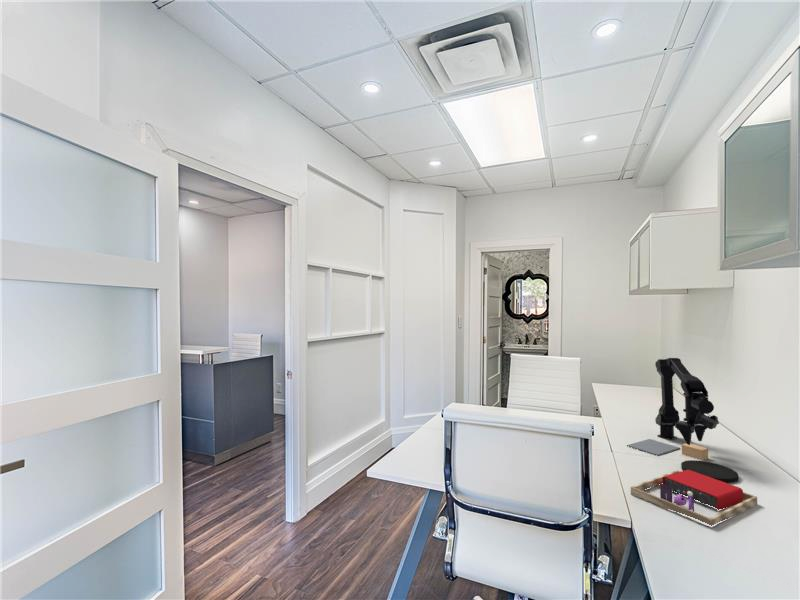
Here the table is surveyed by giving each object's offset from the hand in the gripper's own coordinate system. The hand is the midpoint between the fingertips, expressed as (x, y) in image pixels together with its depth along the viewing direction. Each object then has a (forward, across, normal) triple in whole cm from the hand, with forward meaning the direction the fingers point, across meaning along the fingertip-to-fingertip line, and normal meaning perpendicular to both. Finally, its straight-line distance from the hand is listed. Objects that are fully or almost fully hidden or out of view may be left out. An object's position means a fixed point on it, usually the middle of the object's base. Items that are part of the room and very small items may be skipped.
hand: (694, 442), depth 172 cm
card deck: (+6, 0, 0) cm, 6 cm away
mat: (+6, -5, +15) cm, 17 cm away
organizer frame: (+6, -44, -20) cm, 49 cm away
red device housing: (+6, -38, -20) cm, 44 cm away
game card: (+6, -54, -20) cm, 58 cm away
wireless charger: (+6, -15, -12) cm, 20 cm away
